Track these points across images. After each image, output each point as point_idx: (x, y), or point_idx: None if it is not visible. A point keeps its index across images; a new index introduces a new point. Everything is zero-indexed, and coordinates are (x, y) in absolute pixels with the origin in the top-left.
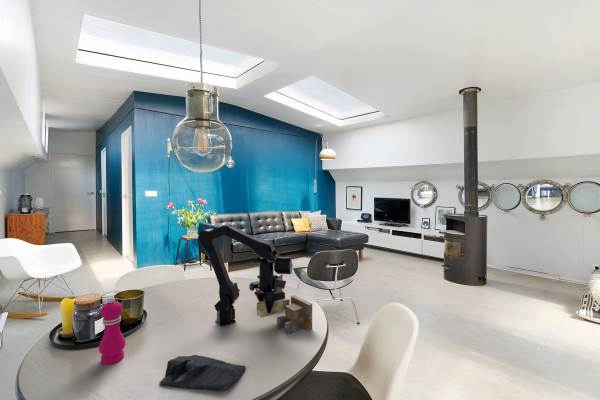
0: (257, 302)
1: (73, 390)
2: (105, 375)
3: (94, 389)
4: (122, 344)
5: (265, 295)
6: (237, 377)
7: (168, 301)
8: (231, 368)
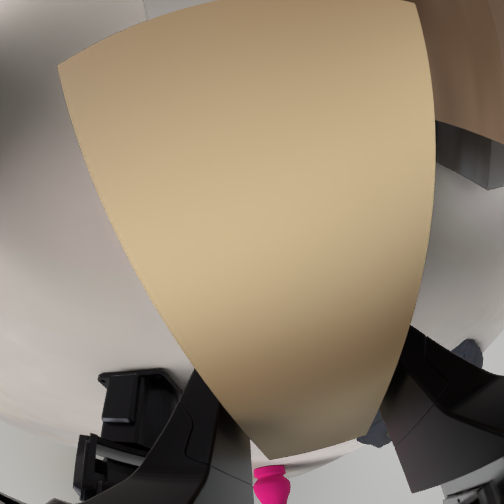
0: (270, 458)
1: (323, 464)
2: (311, 461)
3: (336, 457)
4: (283, 486)
5: (215, 497)
6: (481, 353)
7: (18, 419)
8: None
